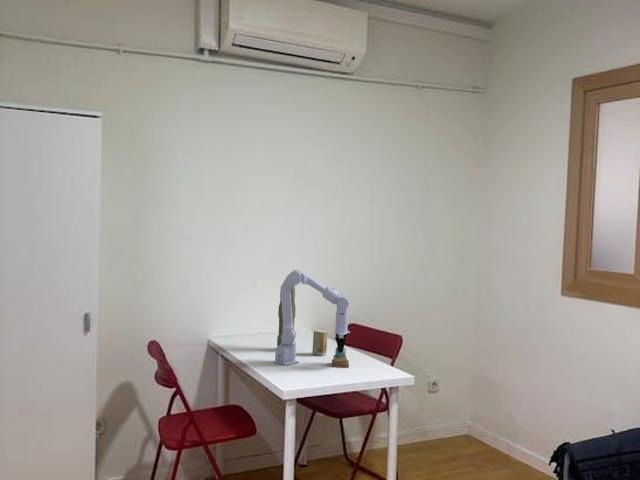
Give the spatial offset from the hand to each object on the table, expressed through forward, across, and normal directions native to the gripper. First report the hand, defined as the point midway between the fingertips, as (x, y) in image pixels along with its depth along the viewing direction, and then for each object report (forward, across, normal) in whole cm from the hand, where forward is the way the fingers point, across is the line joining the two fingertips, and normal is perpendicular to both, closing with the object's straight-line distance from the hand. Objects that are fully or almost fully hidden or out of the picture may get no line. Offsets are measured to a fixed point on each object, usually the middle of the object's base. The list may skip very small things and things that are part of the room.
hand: (340, 350), depth 270 cm
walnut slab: (+8, 0, 0) cm, 8 cm away
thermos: (+7, +25, +28) cm, 39 cm away
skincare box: (+7, +19, +10) cm, 23 cm away
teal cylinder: (+3, 0, 0) cm, 3 cm away
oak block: (+5, 0, 0) cm, 5 cm away
